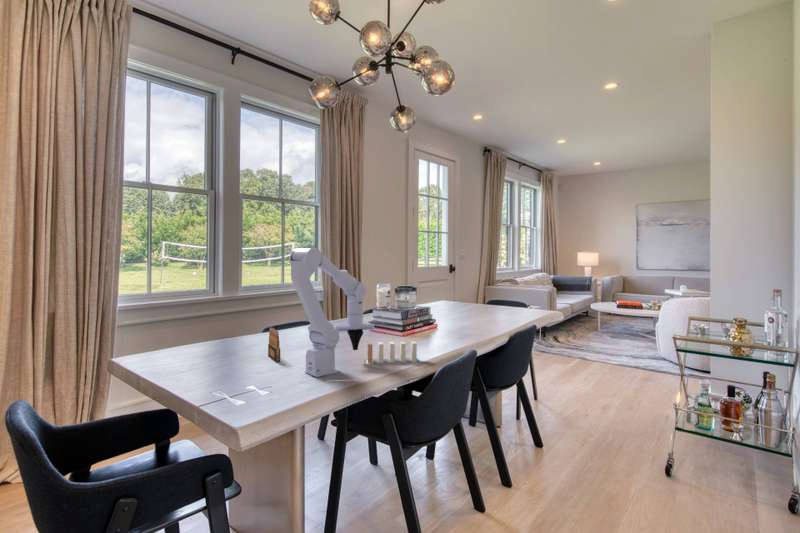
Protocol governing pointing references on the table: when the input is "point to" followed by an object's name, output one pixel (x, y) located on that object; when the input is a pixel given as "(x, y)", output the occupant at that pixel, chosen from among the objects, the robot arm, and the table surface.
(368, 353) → the domino placed
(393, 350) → the domino
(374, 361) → the mat
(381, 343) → the domino
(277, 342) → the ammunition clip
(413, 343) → the domino
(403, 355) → the domino
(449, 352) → the table surface
